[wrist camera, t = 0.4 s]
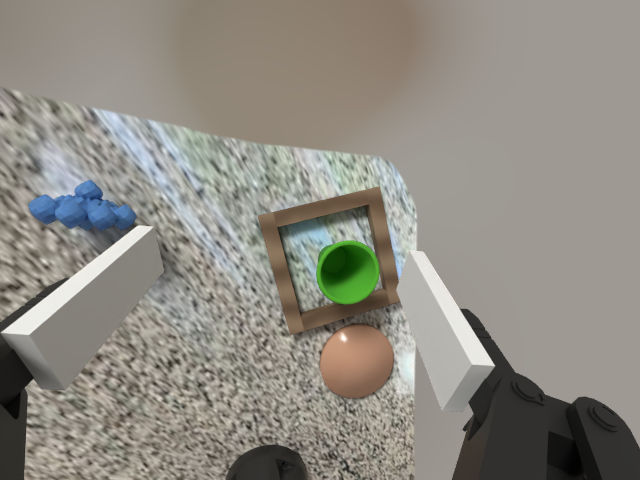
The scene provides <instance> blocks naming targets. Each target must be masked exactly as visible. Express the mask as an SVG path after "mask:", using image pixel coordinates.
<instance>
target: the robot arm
mask: <svg viewBox="0 0 640 480" xmlns="http://www.w3.org/2000/svg"><path fill="white" fill-rule="evenodd" d="M163 272H164V268H163V263H162V259H161V255H160V250H159V246H158V242H157V237H156V233H155V229H154V227H151V226H140V225H138V226H137V227H135V228H134V229H133V230H132V231H130V232H129V233H128V234H126V235H125V236H124V237H123V238H121V239H120V240H119V241H117V242H116V243H115V244H114V245H112V246H111V247H110V248H108V249H107V250H106V251H105V252H103V253H102V254H101V255H99V256H98V257H97V258H96V259H94V260H93V261H92V262H91V263H89V264H88V265H87V266H85V267H84V268H83V269H82V270H80V271H79V272H78V273H76V274H75V275H74V276H73V277H71V278H65V279H63V280H60V281H58V282H56V283H54V284H52V285H50V286H48V287H47V288H46V289H44V290H43V291H42V292H40V293H39V294H38V295H36V298H32V299H31V300H30V301H28V302H27V303H26V304H25V306H22V307H20V308H19V309H18V310H16V311H15V312H14V313H12V314H11V315H10V316H8V317H7V318H6V319H4V320H3V321H2V322H0V480H24V466H25V444H26V422H27V400H28V395H27V392H26V390H25V387H26V386H27V385H28V384H29V383H30V382H31V380H32V379H34V380H35V381H36V383H37V384H38V385H39V387H40V388H41V389H49V390H66V389H67V388H68V386H69V385H70V384H71V383H72V382H73V380H74V379H75V378H76V377H77V376H78V374H79V373H80V372H81V371H82V370H83V368H84V367H85V366H86V365H87V363H88V362H89V361H90V360H91V359H92V357H93V356H94V355H95V354H96V353H97V351H98V350H99V349H100V348H101V347H102V345H103V344H104V343H105V342H106V341H107V339H108V338H109V337H110V336H111V334H112V333H113V332H114V331H115V330H116V328H117V327H118V326H119V325H120V324H121V322H122V321H123V320H124V319H125V318H126V316H127V315H128V314H129V313H130V312H131V310H132V309H133V308H134V307H135V305H136V304H137V303H138V302H139V301H140V299H141V298H142V297H143V296H144V295H145V293H146V292H147V291H148V290H149V289H150V287H151V286H152V285H153V284H154V283H155V281H156V280H157V279H158V278H159V277H160V275H161V274H162V273H163ZM396 291H397V294H398V296H399V299H400V302H401V304H402V307H403V310H404V312H405V315H406V317H407V320H408V323H409V325H410V328H411V331H412V333H413V336H414V339H415V341H416V344H417V346H418V349H419V352H420V354H421V357H422V360H423V362H424V365H425V368H426V370H427V373H428V376H429V378H430V381H431V383H432V386H433V389H434V391H435V394H436V397H437V399H438V402H439V405H440V407H441V410H442V411H448V412H463V410H464V409H465V408H466V406H467V405H468V403H469V405H470V407H471V409H472V411H473V413H474V414H473V416H472V417H471V418H470V420H469V421H468V422H467V424H466V425H465V426H464V428H463V431H466V430H467V432H466V435H465V439H464V442H463V445H462V448H461V452H460V455H459V458H458V461H457V465H456V468H455V471H454V474H453V478H452V480H640V448H639V446H638V444H637V442H636V440H635V438H634V436H633V434H632V432H631V430H630V429H629V428H628V426H627V425H626V423H625V422H624V421H623V420H622V419H621V418H620V417H619V416H618V415H617V414H616V413H615V412H614V411H613V410H611V409H610V408H609V407H607V406H606V405H604V404H602V403H601V402H598V401H597V400H595V399H592V398H588V397H579V398H577V399H576V400H575V401H574V402H573V403H572V404H570V403H567V402H564V401H562V400H558V399H556V398H553V397H550V396H547V395H545V394H544V392H543V391H542V390H541V389H540V388H539V387H538V386H537V385H536V384H535V383H534V382H532V381H531V380H530V379H528V378H527V377H524V376H522V375H520V374H518V373H515V372H514V370H513V368H512V367H511V366H510V364H509V363H508V361H507V360H506V358H505V357H504V356H503V354H502V352H501V351H500V349H499V348H498V346H497V345H496V343H495V342H494V341H493V340H492V339H491V336H490V335H489V333H488V332H487V331H486V330H485V327H484V326H483V324H482V323H481V322H480V320H479V319H478V318H477V317H476V316H475V315H474V314H473V313H471V312H470V311H469V310H468V309H459V308H458V306H457V304H456V303H455V301H454V300H453V298H452V296H451V295H450V293H449V292H448V290H447V289H446V287H445V285H444V284H443V283H442V281H441V279H440V277H439V276H438V274H437V273H436V271H435V269H434V268H433V266H432V265H431V263H430V261H429V260H428V259H427V257H426V255H425V253H424V252H421V251H410V250H409V253H408V256H407V259H406V262H405V265H404V268H403V271H402V274H401V277H400V280H399V283H398V286H397V289H396ZM226 480H307V474H306V468H305V465H304V462H303V461H302V459H301V458H300V456H299V455H298V454H297V453H295V452H294V451H292V450H291V449H289V448H286V447H283V446H278V445H266V446H261V447H257V448H254V449H252V450H250V451H248V452H246V453H245V454H243V455H242V456H241V457H239V458H238V459H237V460H236V461H235V462H234V464H233V465H232V466H231V468H230V470H229V471H228V474H227V476H226Z"/></svg>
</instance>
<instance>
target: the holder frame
mask: <svg viewBox="0 0 640 480" xmlns="http://www.w3.org/2000/svg"><path fill="white" fill-rule="evenodd" d="M364 205H365V206H366V211H367V216H368V221H369V225H370V230H371V235H372V240H373V244H374V249H375V254H376V257H377V260H378V263H379V270H380V278H381V282H382V287H383V289H379V290H376V291H373V292H372V293H371V294H370V295H369V296H368V297H366V298H365V299H363V300H362V301H360V302H357V303H354V304H339V303H332V304H329V305H325V306H322V307H319V308H315V309H312V310H309V311H305V312H302V313H300V312H299V308H298V304H297V300H296V297H295V293H294V289H293V285H292V281H291V278H290V274H289V270H288V266H287V262H286V259H285V255H284V251H283V247H282V243H281V240H280V236H279V232H278V228H277V227H280V226H284V225H288V224H292V223H296V222H300V221H304V220H308V219H312V218H316V217H320V216H324V215H328V214H332V213H336V212H340V211H344V210H348V209H352V208H356V207H360V206H364ZM258 219H259V222H260V226H261V230H262V233H263V237H264V241H265V244H266V248H267V252H268V255H269V259H270V262H271V266H272V270H273V273H274V277H275V281H276V284H277V288H278V292H279V295H280V299H281V303H282V306H283V310H284V314H285V317H286V321H287V325H288V328H289V332H290V335H292V334H296V333H299V332H302V331H305V330H309V329H312V328H315V327H319V326H322V325H325V324H328V323H332V322H335V321H338V320H341V319H345V318H348V317H351V316H354V315H358V314H361V313H364V312H367V311H371V310H374V309H377V308H380V307H384V306H387V305H390V304H394V303H397V302H400V299H399V296H398V294H397V291H396V289H397V286H398V283H399V281H398V276H397V271H396V266H395V261H394V256H393V251H392V246H391V241H390V236H389V231H388V226H387V221H386V216H385V211H384V206H383V201H382V196H381V191H380V187H375V188H371V189H367V190H363V191H359V192H354V193H350V194H346V195H342V196H338V197H334V198H330V199H326V200H321V201H317V202H313V203H309V204H305V205H301V206H297V207H292V208H288V209H284V210H280V211H276V212H272V213H268V214H263V215H259V216H258Z"/></svg>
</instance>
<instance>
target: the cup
mask: <svg viewBox="0 0 640 480" xmlns="http://www.w3.org/2000/svg"><path fill="white" fill-rule="evenodd" d="M379 273H380V270H379V263H378V260H377V257H376V256H375V254H374V252H373V251H372V250H371V249H370V248H369V247H368V246H366V245H364V244H362V243H361V242H357V241H343V242H339V243H336V244H334V245H329V246H326V247H325V248H324V249H322V251H321V252H320V254H319V258H318V266H317V273H316V276H317V282H318V285H319V288H320V290H321V291H322V292H323V294H324V295H325V296H326V297H327V298H328V299H330V300H331V301H334V302H336V303H339V304H354V303H357V302H360V301H362V300H363V299H365V298H366V297H368V296H369V295H370V294H371V293H372V291H373V290H374V288H375V287H376V285H377V282H378V279H379Z"/></svg>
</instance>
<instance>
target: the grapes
mask: <svg viewBox="0 0 640 480" xmlns="http://www.w3.org/2000/svg"><path fill="white" fill-rule="evenodd" d="M75 194H76V195H75V196H72V195H71V196H70V195H67V196H63V195H62V196H60V197H57V198H55V199H52V198H51V197H49V196H48V195H46V194H45V195H43V196H40V197H38V198H36V199H34V200H33V201H31V202H30V203H29V204H28V206H29V210H30V211H31V214H32V215H33V216H34V217H36V218H37V219H38V220H40V221H41V222H43V223H44V224H46V225H47V224H49V223H52V222H54V221H55V220H59V221H60V222H61V223H62V224H64V225H65V226H66V227H68V228H70V229H72V228H74V227H76V226H80V227H81V228H82V229H84V230H85V231H87V230H89V229H91V228H93V227H94V226H95V227H96V228H97V229H99V230H100V231H103V230H105V229H107V228H109V227H110V226H112V225H113V224H114V225H115V226H116V227H117V228H119V229H120V230H123V229H125V228H127V227H129V226H130V225H132V224H133V223H134V221H135V219H136V214H135V212H134V211H133V210H132V209H131V208H130V207H128V206H127V205H126V204H125V205H123V206H121V207H118V206H117V205H116V204H115V203H113V202H109V201H108V200H102V199H101V198H102V196H103V192H102V190H101V189H100V188H99V187H98V186H97V185H96V184H95V183H94V182H92V181H91V180H89V181H86V182H84V183H82V184H80V185H79V186H77V187H76V188H75Z"/></svg>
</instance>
